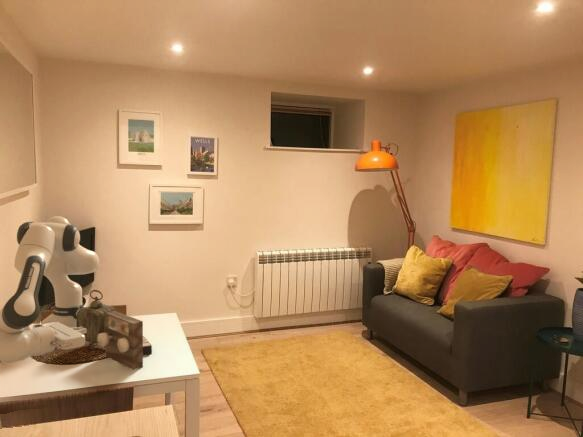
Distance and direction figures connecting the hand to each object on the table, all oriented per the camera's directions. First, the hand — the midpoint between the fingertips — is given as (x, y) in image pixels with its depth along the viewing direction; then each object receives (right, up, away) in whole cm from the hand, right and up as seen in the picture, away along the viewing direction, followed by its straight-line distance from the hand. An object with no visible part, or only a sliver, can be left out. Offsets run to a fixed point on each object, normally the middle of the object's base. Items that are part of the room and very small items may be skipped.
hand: (84, 329), depth 170 cm
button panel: (+7, -17, +19) cm, 26 cm away
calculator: (+7, -16, +32) cm, 37 cm away
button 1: (+1, -10, +20) cm, 22 cm away
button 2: (+11, -11, +14) cm, 21 cm away
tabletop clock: (-9, -16, +32) cm, 37 cm away
